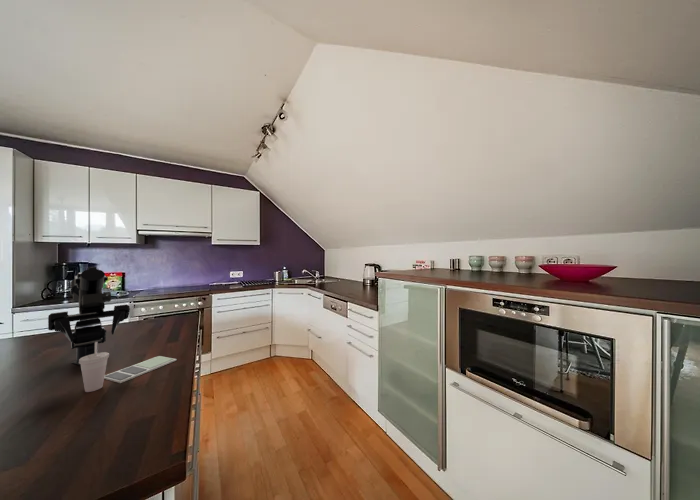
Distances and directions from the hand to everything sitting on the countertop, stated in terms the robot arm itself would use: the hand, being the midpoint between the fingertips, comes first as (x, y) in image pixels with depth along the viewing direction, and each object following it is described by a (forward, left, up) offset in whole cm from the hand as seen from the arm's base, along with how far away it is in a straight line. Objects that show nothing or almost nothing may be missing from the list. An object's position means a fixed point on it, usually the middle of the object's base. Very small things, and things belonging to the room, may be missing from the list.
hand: (93, 337), depth 79 cm
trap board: (+6, +10, -14) cm, 18 cm away
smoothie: (+7, -3, -14) cm, 16 cm away
